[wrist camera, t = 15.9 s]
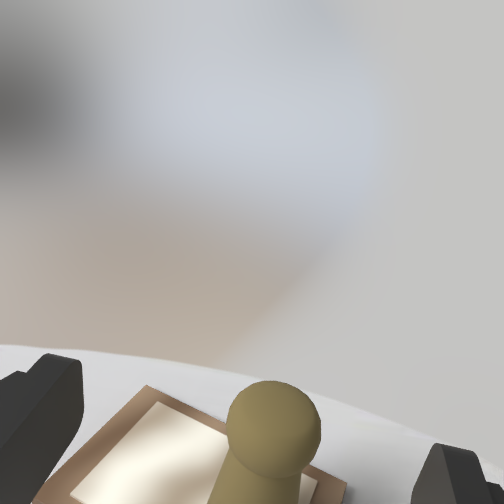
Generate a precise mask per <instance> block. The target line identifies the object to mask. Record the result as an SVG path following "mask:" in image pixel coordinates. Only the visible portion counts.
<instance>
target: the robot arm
mask: <svg viewBox="0 0 504 504" xmlns="http://www.w3.org/2000/svg"><path fill="white" fill-rule="evenodd" d="M83 413H84V396H83V376H82V364H81V362H80V361H79V360H76V359H71V358H67V357H62V356H58V355H54V354H49V353H48V354H45V355H43V356H42V357H41V358H40V359H39V360H38V361H37V362H36V363H35V364H34V365H33V366H32V367H31V368H30V369H29V370H28V372H27V373H25V372H20V371H16V372H14V373H12V374H10V375H9V376H7V377H5V378H3V379H2V380H0V504H31V502H32V501H33V499H34V498H35V496H36V494H37V493H38V491H39V490H40V488H41V487H42V485H43V484H44V482H45V481H46V479H47V478H48V476H49V475H50V473H51V472H52V470H53V469H54V467H55V466H56V464H57V463H58V461H59V460H60V458H61V457H62V455H63V454H64V452H65V451H66V449H67V448H68V446H69V445H70V443H71V441H72V440H73V438H74V437H75V435H76V433H77V432H78V429H79V427H80V425H81V422H82V418H83ZM411 504H504V490H503V489H502V488H501V486H500V485H499V484H495V483H491V482H486V480H485V477H484V474H483V471H482V468H481V465H480V462H479V460H478V457H477V455H476V454H475V453H474V452H473V451H470V450H466V449H461V448H457V447H452V446H448V445H444V444H439V443H435V444H434V445H433V446H432V448H431V450H430V452H429V454H428V457H427V459H426V461H425V463H424V466H423V468H422V470H421V472H420V475H419V477H418V479H417V481H416V484H415V486H414V488H413V492H412V496H411Z"/></svg>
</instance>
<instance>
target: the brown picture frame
mask: <svg viewBox="0 0 504 504" xmlns="http://www.w3.org/2000/svg"><path fill="white" fill-rule="evenodd" d="M228 449H229V444H228V438H227V431H226V424H225V423H223V422H221V421H219V420H217V419H215V418H213V417H211V416H209V415H207V414H205V413H203V412H201V411H199V410H197V409H195V408H193V407H191V406H189V405H187V404H184V403H182V402H180V401H178V400H176V399H174V398H172V397H170V396H168V395H166V394H164V393H162V392H160V391H158V390H156V389H154V388H152V387H150V386H148V385H145V386H144V387H143V388H142V389H141V390H140V391H139V392H138V393H137V394H136V395H135V396H134V397H133V398H132V399H131V400H130V401H129V402H128V403H127V404H126V405H125V406H124V407H123V408H122V409H121V410H120V411H119V412H118V413H116V414H115V415H114V416H113V417H112V418H111V419H110V420H109V421H108V422H107V423H106V424H105V425H104V426H103V427H102V428H101V429H100V430H99V431H98V432H97V433H96V434H95V435H94V436H93V437H92V438H91V439H90V440H89V441H88V442H86V443H85V444H84V445H83V446H82V447H81V448H80V449H79V450H78V451H77V452H76V453H75V454H74V455H73V456H72V457H71V458H70V459H69V460H68V461H67V462H66V463H65V464H64V465H63V466H62V467H61V468H60V469H59V470H58V471H56V472H55V473H54V474H53V475H52V476H51V477H50V478H49V479H48V480H47V481H46V482H45V483H44V484H43V485H42V487H41V488H40V490H39V491H38V493H37V494H36V496H35V498H34V499H33V501H32V504H207V502H208V499H209V497H210V494H211V492H212V489H213V487H214V484H215V482H216V479H217V477H218V474H219V472H220V469H221V467H222V464H223V462H224V459H225V457H226V454H227V452H228ZM346 485H347V483H346V482H344V481H342V480H340V479H338V478H336V477H334V476H332V475H330V474H328V473H326V472H324V471H322V470H319V469H317V468H315V467H313V466H311V465H309V464H308V465H307V466H306V467H305V468H304V469H303V470H302V475H301V483H300V492H299V500H298V504H341V502H342V499H343V495H344V492H345V489H346Z"/></svg>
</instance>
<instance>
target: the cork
mask: <svg viewBox="0 0 504 504" xmlns="http://www.w3.org/2000/svg"><path fill="white" fill-rule="evenodd" d="M226 431H227V438H228V444H229V449H228V452H227V454H226V457H225V459H224V462H223V464H222V467H221V469H220V472H219V474H218V477H217V479H216V482H215V484H214V487H213V489H212V492H211V494H210V497H209V499H208V502H207V504H298V500H299V492H300V483H301V475H302V470H303V469H304V468H305V467H306V466H307V465H308V464H309V463H310V462H311V461H312V460H313V458H314V456H315V454H316V452H317V449H318V447H319V444H320V441H321V420H320V417H319V415H318V412H317V410H316V407H315V405H314V403H313V402H312V401H311V400H310V399H309V397H308V396H307V395H306V394H304V393H303V392H302V391H300V390H299V389H298V388H296V387H293V386H291V385H289V384H287V383H282V382H278V381H261V382H257V383H254V384H252V385H250V386H249V387H247V388H245V389H244V390H243V391H241V392H240V393H239V394H238V395H237V397H236V398H235V399H234V401H233V402H232V404H231V406H230V408H229V412H228V417H227V422H226Z"/></svg>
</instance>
